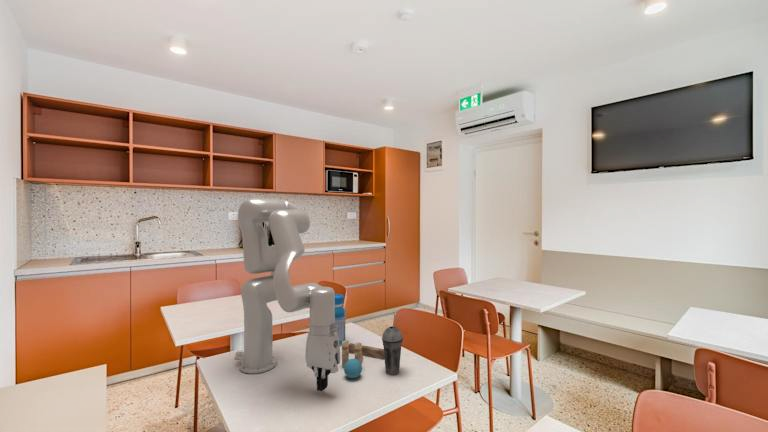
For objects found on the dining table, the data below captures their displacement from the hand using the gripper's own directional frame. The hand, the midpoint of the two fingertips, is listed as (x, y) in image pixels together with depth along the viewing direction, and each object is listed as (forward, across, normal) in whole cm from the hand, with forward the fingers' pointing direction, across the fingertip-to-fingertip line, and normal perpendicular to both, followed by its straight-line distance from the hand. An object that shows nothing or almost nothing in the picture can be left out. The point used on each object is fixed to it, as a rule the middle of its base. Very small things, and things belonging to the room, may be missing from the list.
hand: (322, 388), depth 101 cm
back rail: (+2, 0, -30) cm, 30 cm away
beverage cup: (+2, -14, -22) cm, 26 cm away
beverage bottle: (+2, +18, -36) cm, 40 cm away
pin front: (0, 0, -15) cm, 15 cm away
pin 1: (+2, +3, -18) cm, 19 cm away
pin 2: (+2, -2, -18) cm, 19 cm away
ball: (-2, -4, -13) cm, 13 cm away
